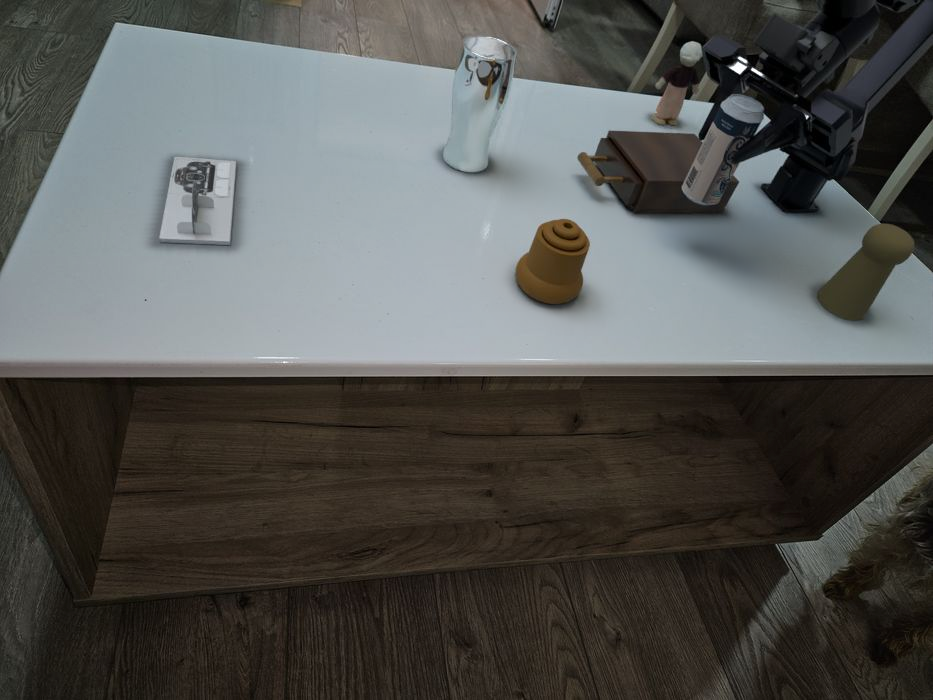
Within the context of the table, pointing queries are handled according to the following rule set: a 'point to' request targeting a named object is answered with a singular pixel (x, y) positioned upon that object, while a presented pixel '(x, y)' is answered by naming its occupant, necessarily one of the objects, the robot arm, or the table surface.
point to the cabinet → (665, 170)
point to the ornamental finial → (554, 262)
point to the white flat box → (199, 202)
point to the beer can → (722, 148)
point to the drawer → (613, 171)
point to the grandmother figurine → (678, 84)
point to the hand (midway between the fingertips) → (715, 149)
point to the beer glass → (478, 100)
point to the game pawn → (866, 272)
